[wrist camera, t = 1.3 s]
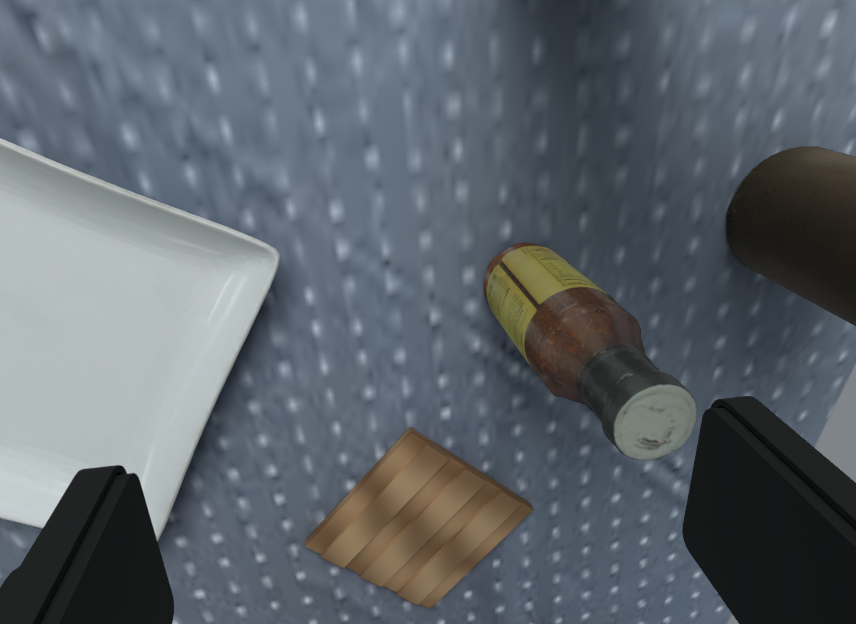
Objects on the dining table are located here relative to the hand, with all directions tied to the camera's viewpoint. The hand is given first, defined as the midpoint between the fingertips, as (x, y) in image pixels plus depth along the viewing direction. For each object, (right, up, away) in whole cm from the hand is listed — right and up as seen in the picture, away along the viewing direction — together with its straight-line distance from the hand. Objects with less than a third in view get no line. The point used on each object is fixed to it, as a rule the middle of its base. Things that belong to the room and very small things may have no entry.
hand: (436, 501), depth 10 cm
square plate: (-28, +2, +32) cm, 42 cm away
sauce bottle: (+7, +6, +35) cm, 36 cm away
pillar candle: (+27, +11, +36) cm, 46 cm away
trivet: (-1, -15, +43) cm, 45 cm away
